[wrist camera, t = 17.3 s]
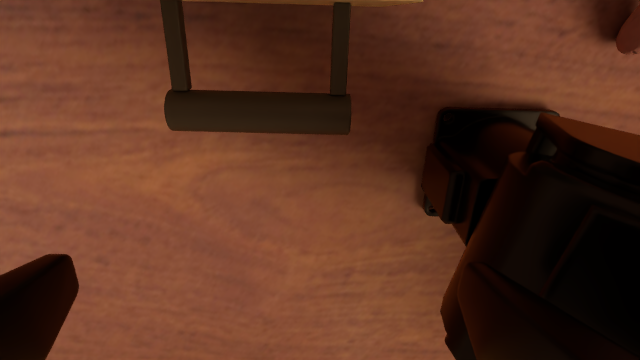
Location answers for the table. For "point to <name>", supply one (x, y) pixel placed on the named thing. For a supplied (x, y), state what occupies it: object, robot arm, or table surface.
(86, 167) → the table surface
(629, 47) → the pink toy car
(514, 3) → the table surface
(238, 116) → the drawer
